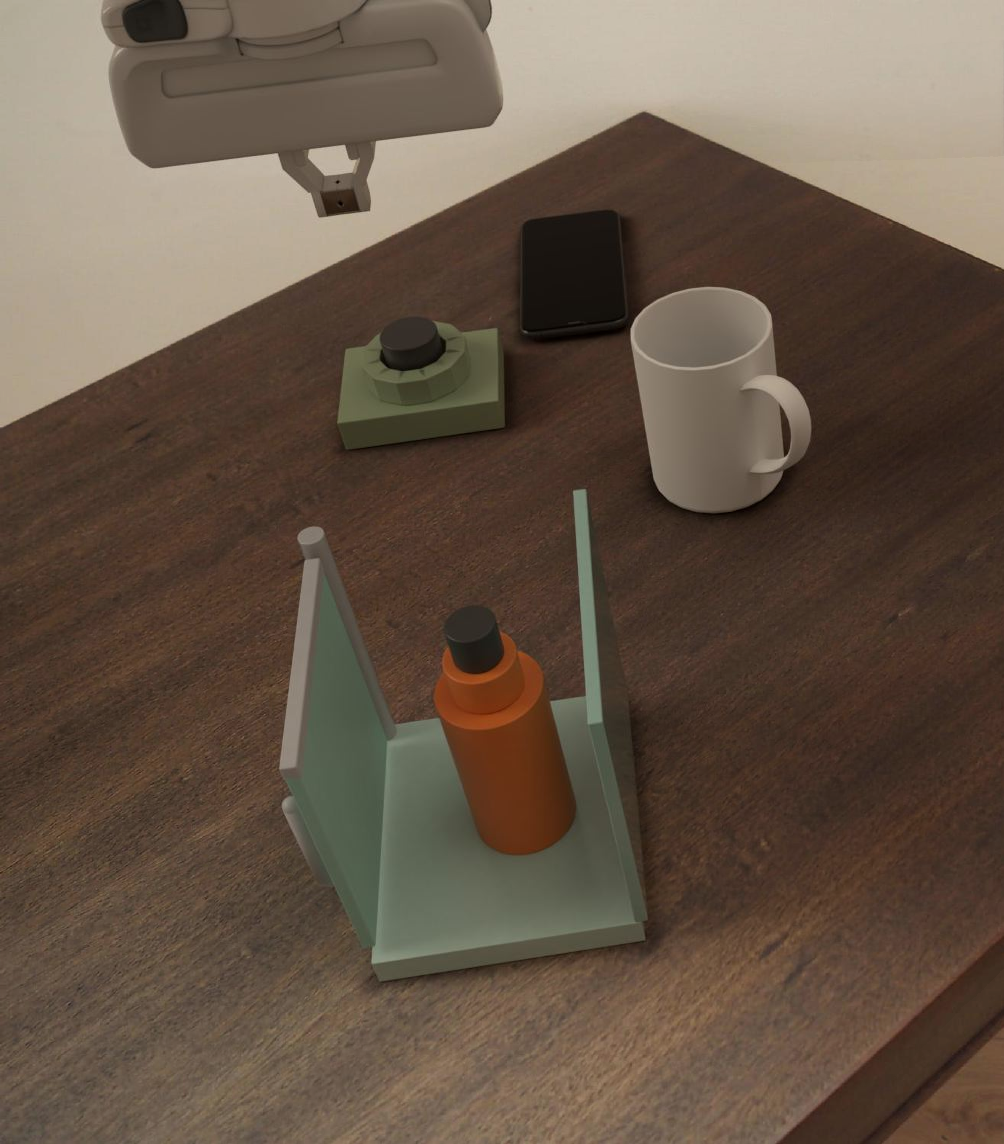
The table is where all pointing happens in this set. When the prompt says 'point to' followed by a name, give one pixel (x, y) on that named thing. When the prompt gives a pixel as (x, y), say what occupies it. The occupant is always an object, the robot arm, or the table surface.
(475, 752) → the shampoo bottle
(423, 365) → the button
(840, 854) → the table surface
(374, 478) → the table surface
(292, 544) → the table surface
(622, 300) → the smartphone
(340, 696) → the shower door
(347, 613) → the shower
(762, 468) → the mug
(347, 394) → the control block
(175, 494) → the table surface
